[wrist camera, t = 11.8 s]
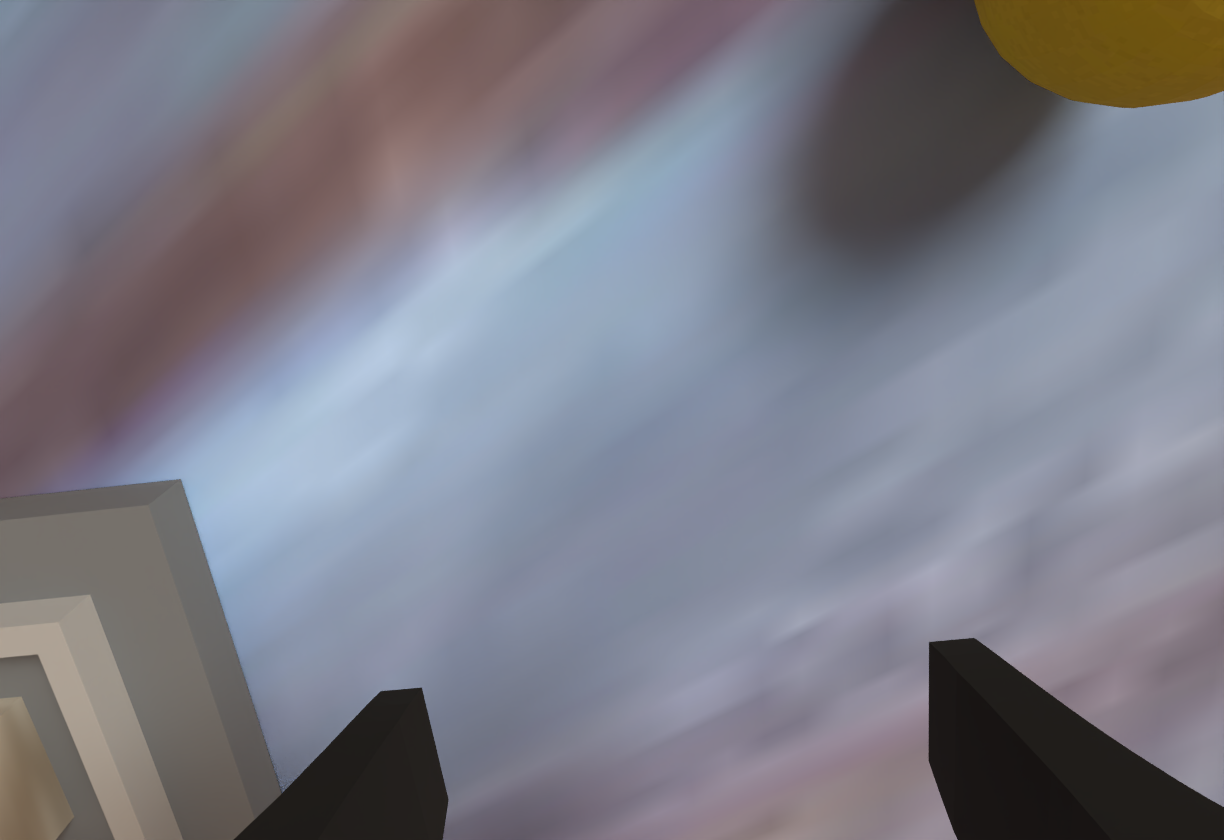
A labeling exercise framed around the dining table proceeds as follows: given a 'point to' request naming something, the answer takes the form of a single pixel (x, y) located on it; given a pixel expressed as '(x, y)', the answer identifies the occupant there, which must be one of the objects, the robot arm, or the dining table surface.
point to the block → (27, 780)
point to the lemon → (1112, 47)
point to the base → (129, 665)
